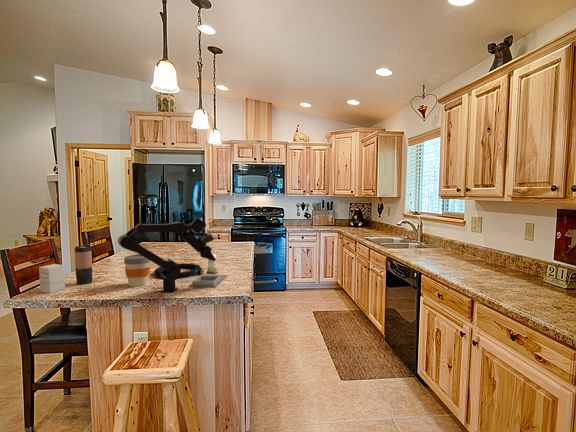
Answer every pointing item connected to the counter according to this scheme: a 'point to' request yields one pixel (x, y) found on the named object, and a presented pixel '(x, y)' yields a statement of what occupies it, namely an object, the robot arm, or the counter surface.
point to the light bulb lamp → (212, 266)
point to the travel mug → (83, 264)
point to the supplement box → (51, 278)
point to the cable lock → (196, 271)
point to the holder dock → (208, 280)
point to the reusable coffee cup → (137, 270)
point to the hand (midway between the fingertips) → (214, 259)
